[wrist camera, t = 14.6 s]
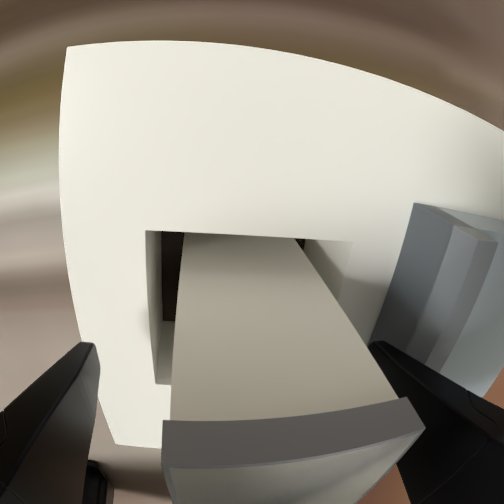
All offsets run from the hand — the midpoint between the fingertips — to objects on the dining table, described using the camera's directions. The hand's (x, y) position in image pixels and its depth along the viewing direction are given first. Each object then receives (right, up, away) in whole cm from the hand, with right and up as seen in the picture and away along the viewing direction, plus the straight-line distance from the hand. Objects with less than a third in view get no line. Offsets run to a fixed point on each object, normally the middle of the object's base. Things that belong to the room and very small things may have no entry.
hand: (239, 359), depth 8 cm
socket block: (+3, +2, +6) cm, 7 cm away
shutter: (+9, 0, +3) cm, 10 cm away
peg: (0, +2, +5) cm, 6 cm away
